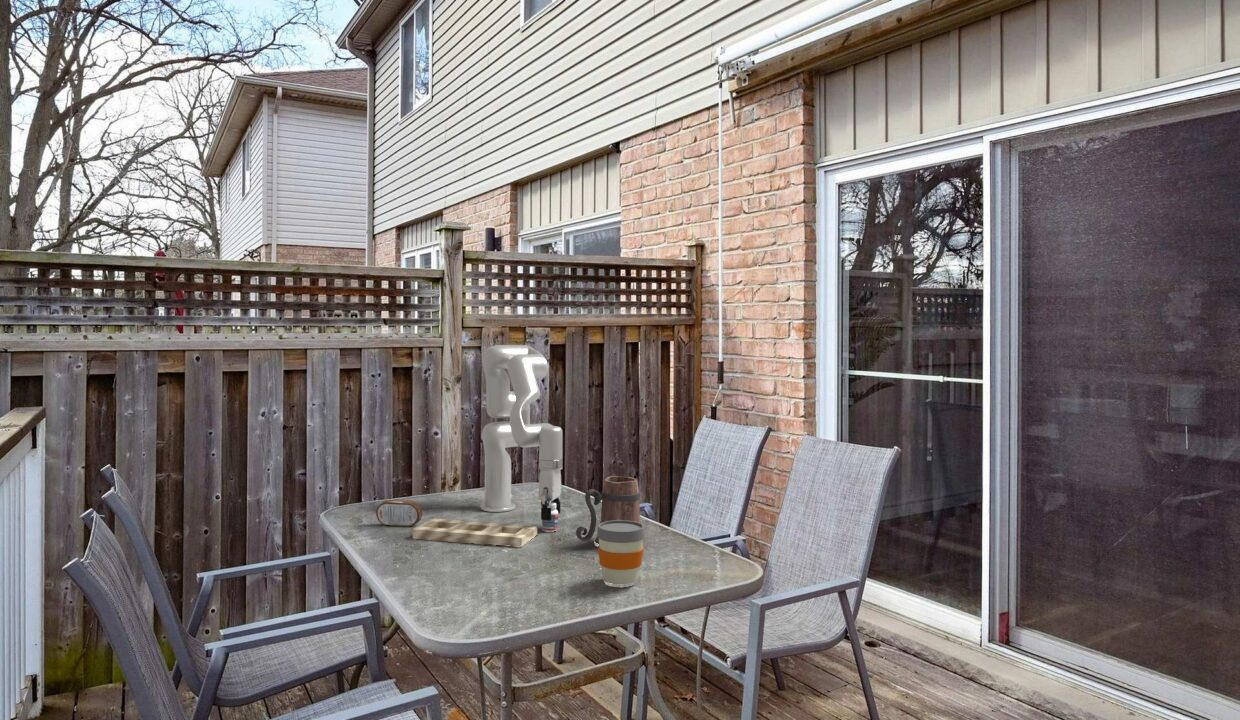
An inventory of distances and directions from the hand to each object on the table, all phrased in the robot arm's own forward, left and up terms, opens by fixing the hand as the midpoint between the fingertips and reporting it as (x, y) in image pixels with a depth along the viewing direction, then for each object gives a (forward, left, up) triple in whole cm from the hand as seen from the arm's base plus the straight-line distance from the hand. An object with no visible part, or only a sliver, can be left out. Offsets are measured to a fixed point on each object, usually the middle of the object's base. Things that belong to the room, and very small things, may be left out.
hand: (550, 516), depth 256 cm
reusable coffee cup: (+44, +34, -5) cm, 55 cm away
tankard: (+10, +23, -5) cm, 25 cm away
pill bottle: (0, 0, -5) cm, 5 cm away
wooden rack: (+14, -20, -5) cm, 25 cm away
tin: (+8, -50, -5) cm, 51 cm away
